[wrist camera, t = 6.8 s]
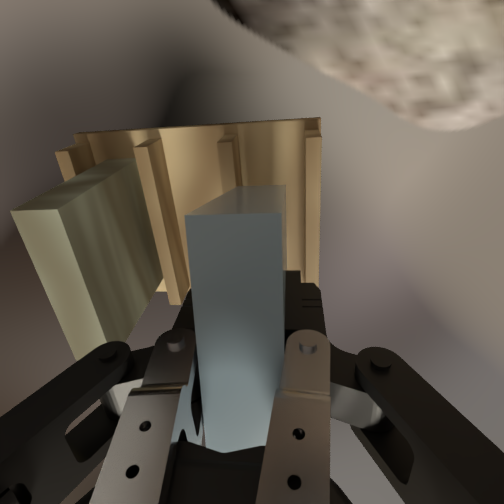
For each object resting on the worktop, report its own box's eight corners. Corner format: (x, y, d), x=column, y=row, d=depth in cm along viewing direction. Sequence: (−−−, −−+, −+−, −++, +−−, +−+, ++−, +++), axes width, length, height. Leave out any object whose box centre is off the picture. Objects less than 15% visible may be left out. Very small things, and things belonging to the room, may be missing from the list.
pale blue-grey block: (285, 184, 17) (281, 212, 8) (288, 331, 19) (286, 477, 10) (237, 186, 17) (184, 215, 9) (245, 331, 19) (208, 472, 11)
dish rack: (320, 117, 18) (338, 155, 11) (316, 286, 24) (327, 389, 16) (78, 132, 20) (-47, 174, 13) (125, 286, 26) (56, 379, 18)
